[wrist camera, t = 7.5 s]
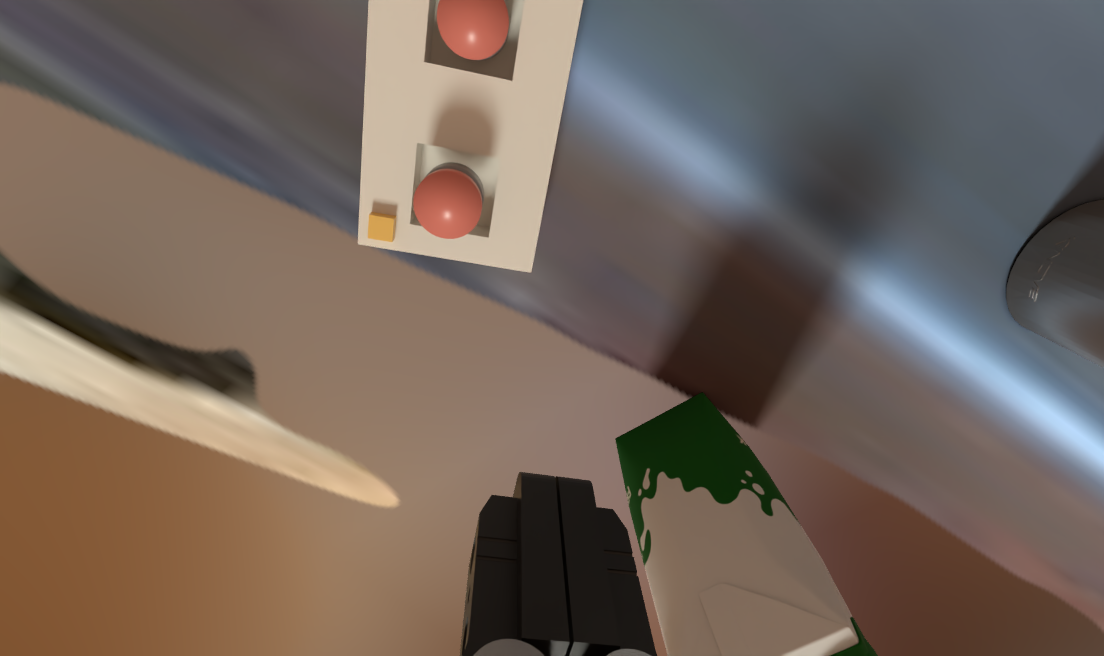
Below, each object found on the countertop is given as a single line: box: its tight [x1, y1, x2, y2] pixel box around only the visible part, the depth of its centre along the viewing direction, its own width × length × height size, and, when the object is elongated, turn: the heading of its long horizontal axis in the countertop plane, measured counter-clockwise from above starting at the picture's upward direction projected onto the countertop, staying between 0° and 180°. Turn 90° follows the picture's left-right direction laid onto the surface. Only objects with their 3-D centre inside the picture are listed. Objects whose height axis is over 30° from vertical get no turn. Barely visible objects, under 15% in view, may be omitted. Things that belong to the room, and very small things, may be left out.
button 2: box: [437, 0, 509, 61], centre depth 24 cm, size 3×3×3 cm
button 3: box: [413, 162, 484, 239], centre depth 25 cm, size 3×3×3 cm
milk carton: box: [616, 392, 878, 656], centre depth 31 cm, size 9×9×20 cm
